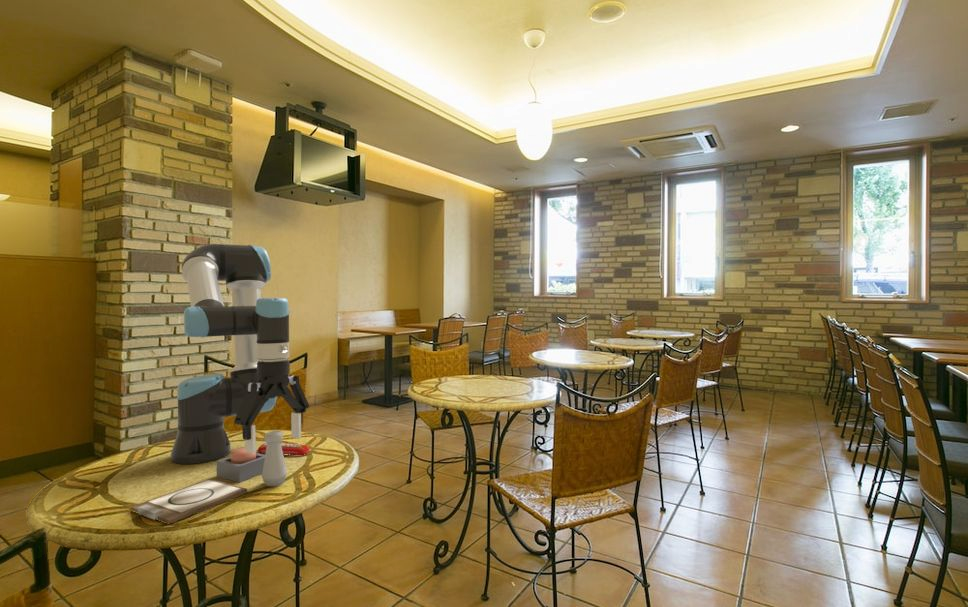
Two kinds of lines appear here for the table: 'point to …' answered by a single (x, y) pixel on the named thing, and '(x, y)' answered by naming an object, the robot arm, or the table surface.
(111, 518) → the table surface
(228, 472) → the button housing
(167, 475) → the table surface
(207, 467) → the table surface
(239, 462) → the button
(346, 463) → the table surface
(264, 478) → the salt shaker
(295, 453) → the candy bar
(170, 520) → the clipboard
